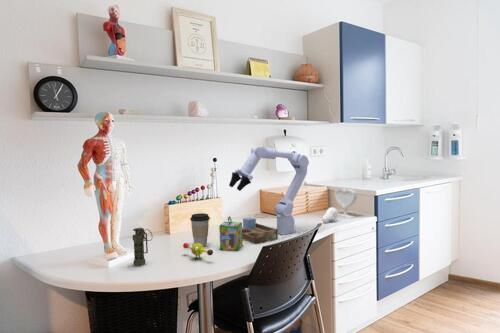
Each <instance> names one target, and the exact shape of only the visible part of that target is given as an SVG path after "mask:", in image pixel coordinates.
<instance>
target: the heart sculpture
mask: <svg viewBox="0 0 500 333" xmlns="http://www.w3.org/2000/svg"><path fill="white" fill-rule="evenodd" d="M334 196H335V200H336V202H337V203H338V205H339V206H341V207H342V208H343V213H338V216H340V215H341V217H344V216H345V218H349V217H350V218H351V217H354V218H355V216H354V215H350V214H348V208H349V207H351V206H353V205H354V204H355V203H356V201H357V198H358V193H357V191H356V190H354V189H352V188H348V189H347V188H344V187H343V188H337V189H335V190H334ZM350 218H349V219H350ZM351 219H352V218H351Z"/></svg>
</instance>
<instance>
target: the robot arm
mask: <svg viewBox="0 0 500 333" xmlns="http://www.w3.org/2000/svg"><path fill="white" fill-rule="evenodd" d="M276 158H283V159H287V160H288V162H290V165H291V166H292V168H293V169H294V171H295V175H294V176H293V178H292V180H291V182H290V185H289V186H288V188H287V190H286V192H285V195H283V197H282V198H281V199H279V201H278V202H277V203H276V204H275V206H274V212H275V214H276V229H277V230H278V235H282V236H283V235H284V236H285V235H289V234H293V233H296V230H295V218H294V216H293V215H292V214H293V209H294V201H295V198H296V196H297V195H298V192H299V191H300V188H301V187H302V185H303V182H304V181H305V178H306V176H307V174H308V166H309V164H310V161H309V158H308V156H307V155H305V154H301V153H298V152H297V153H296V152H291V151H278V149H276V148H274V147H273V146H270V147H265V146H254V147H253V148H251V150H250V155H248V157H247V159H246V160H245V162H244V163H243V165H242V166H241V168H238V169H235V170H234V171H232V173H231V178H230V182H229V184H228V185H229V187H230V188H233V187H234V186H235V185H236V184H237V183H238V181H239V183H238V185H237V187H236V190H237V191H239V192H241V191H242V189H244V188H245V187H246V186H247V185H251V183H252V180H253V178H254V176H253V175H252V172H253V171H254V170H255V168H256V166H257V165H258V163H259V162H260V160H261V159H267V160H268V159H269V160H275V159H276Z"/></svg>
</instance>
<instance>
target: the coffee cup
mask: <svg viewBox="0 0 500 333" xmlns="http://www.w3.org/2000/svg"><path fill="white" fill-rule="evenodd" d="M189 220H190V222H191V225H190V226H191V232H192V238H193V244H195V243H200V244H202V245H203V248H204V247H206V246H208V236H209V226H210V225H209V222H210V221H209V220H211V217H210V216H209V214H208V213H203V212H200V213H199V212H198V213H194V214H191V217H190V218H189Z"/></svg>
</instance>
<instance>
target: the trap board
mask: <svg viewBox="0 0 500 333" xmlns="http://www.w3.org/2000/svg"><path fill="white" fill-rule="evenodd" d="M278 236H279V234H278V230H277V228H274V227H270V226H268V225H264V224H260V223H257V222H256V228H252V229H246V228H244V227H243V226H242V241H243V240H244V241H246V242H248V243H252V244H254V245H259V244H263V243H267V242H271V241H277V240H278V238H279V237H278Z"/></svg>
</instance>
